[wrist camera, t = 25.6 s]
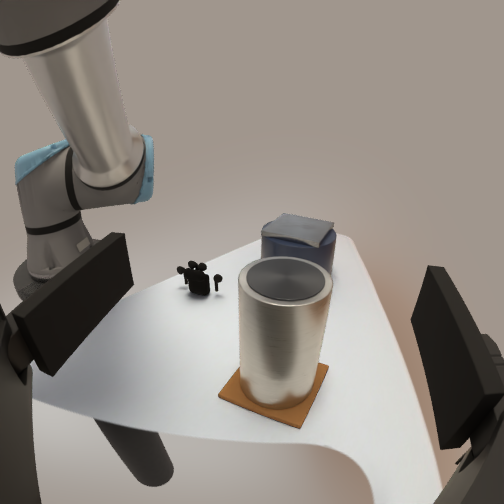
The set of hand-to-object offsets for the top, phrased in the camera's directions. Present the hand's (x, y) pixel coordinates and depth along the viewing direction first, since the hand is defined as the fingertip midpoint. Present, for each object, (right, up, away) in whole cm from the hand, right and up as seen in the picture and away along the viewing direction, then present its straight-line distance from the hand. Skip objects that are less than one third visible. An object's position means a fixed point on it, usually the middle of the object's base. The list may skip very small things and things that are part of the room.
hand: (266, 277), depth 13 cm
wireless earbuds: (-8, -5, +31) cm, 32 cm away
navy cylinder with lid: (+6, -2, +36) cm, 37 cm away
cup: (+2, -12, +16) cm, 20 cm away
